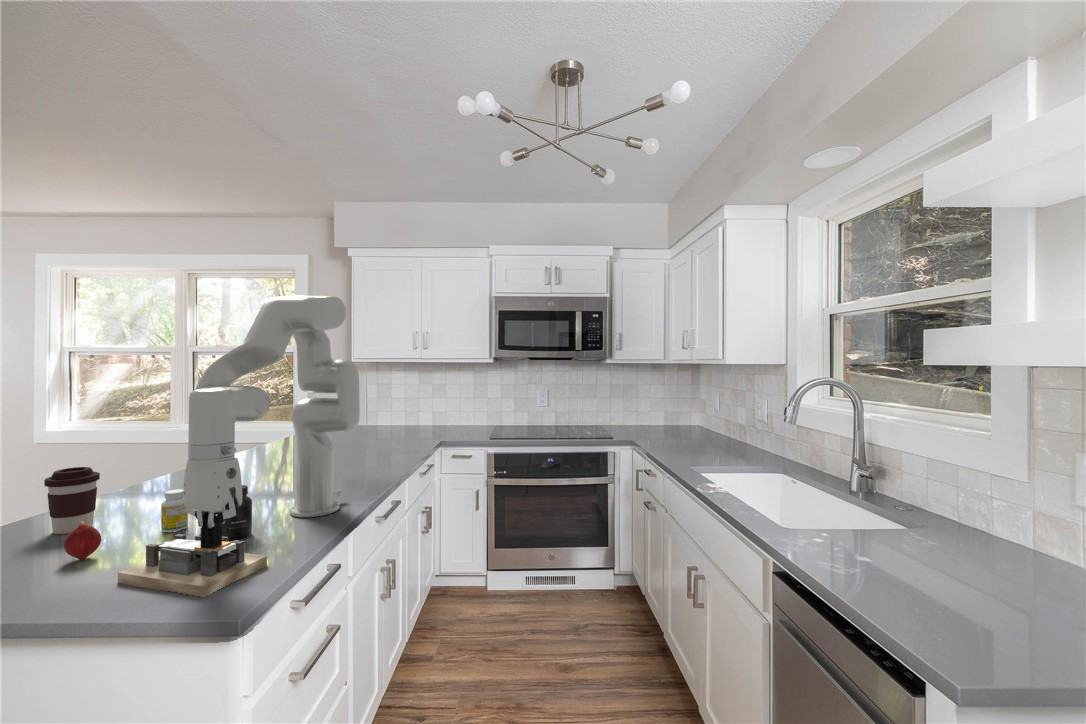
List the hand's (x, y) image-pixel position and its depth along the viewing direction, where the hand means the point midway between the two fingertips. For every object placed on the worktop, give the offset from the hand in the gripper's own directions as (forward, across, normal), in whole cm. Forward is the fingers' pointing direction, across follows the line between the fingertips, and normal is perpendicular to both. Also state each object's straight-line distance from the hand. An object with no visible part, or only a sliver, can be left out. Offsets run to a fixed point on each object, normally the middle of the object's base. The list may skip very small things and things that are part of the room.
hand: (211, 545), depth 96 cm
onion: (+6, +34, 0) cm, 35 cm away
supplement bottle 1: (+6, +33, -19) cm, 39 cm away
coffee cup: (+6, +57, -12) cm, 59 cm away
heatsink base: (+6, +5, -1) cm, 8 cm away
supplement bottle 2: (+6, +14, -19) cm, 24 cm away
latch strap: (+2, +5, -1) cm, 5 cm away
